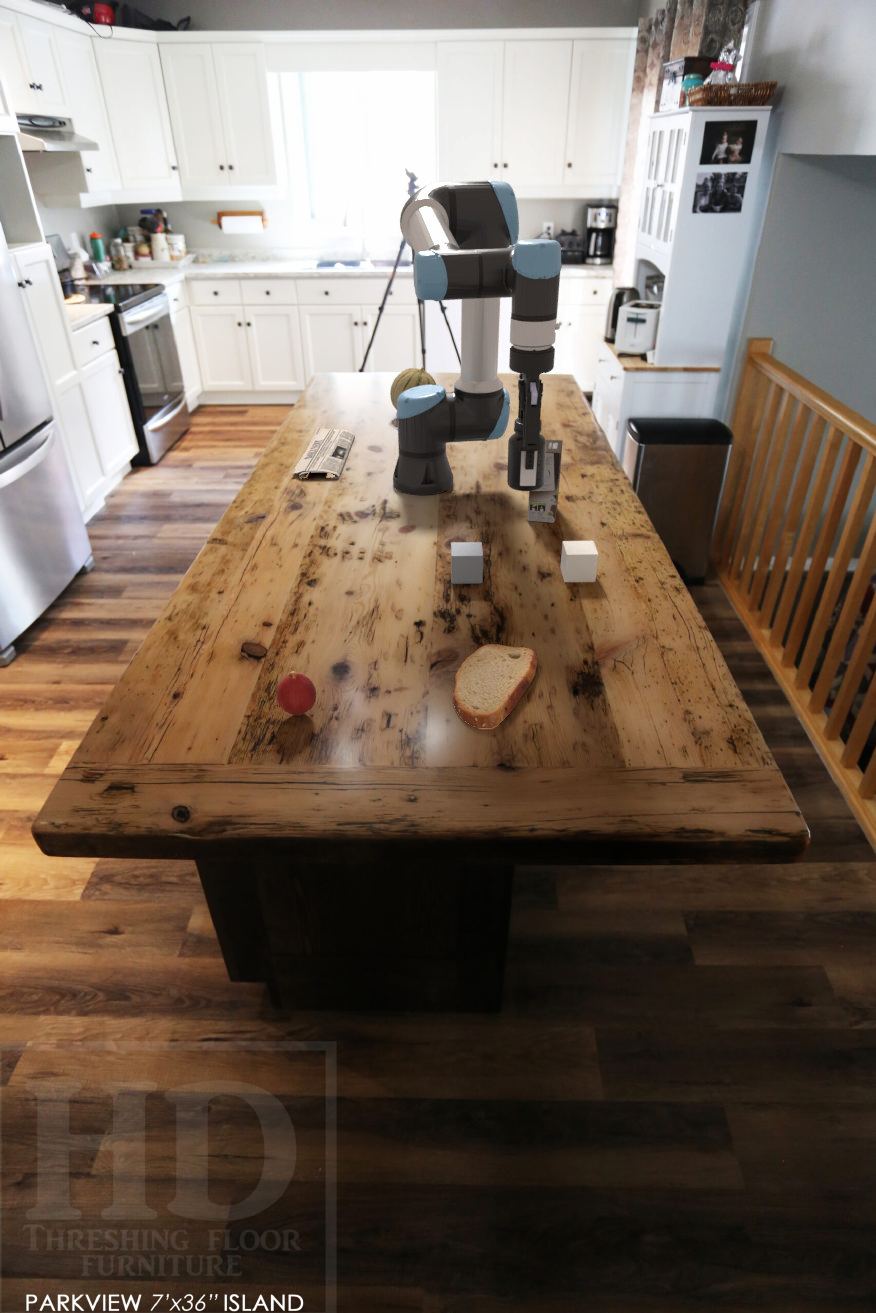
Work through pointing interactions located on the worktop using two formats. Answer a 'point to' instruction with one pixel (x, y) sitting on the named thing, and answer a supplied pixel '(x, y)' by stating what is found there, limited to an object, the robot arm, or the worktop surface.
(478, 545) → the slate-grey block
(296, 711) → the onion
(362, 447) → the worktop surface
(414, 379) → the cantaloupe
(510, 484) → the supplement bottle
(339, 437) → the newspaper
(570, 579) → the off-white block
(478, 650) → the bread slice
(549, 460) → the coffee box
